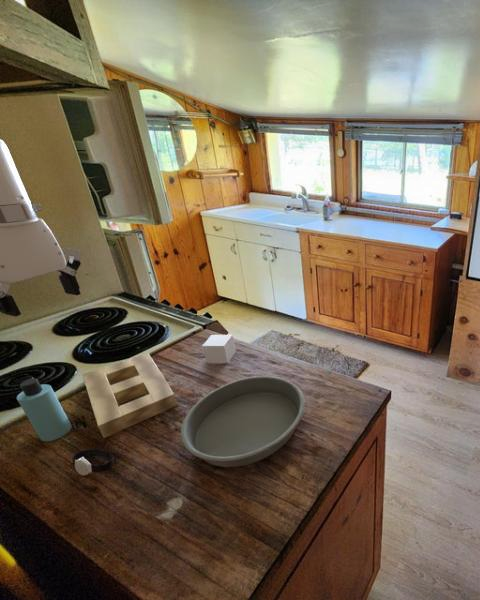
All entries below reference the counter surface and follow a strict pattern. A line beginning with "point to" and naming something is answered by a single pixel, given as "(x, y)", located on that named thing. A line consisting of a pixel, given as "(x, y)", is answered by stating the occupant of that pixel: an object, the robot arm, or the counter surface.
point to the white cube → (219, 348)
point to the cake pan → (243, 421)
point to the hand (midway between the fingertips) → (45, 303)
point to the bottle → (43, 410)
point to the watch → (85, 467)
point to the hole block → (127, 393)
